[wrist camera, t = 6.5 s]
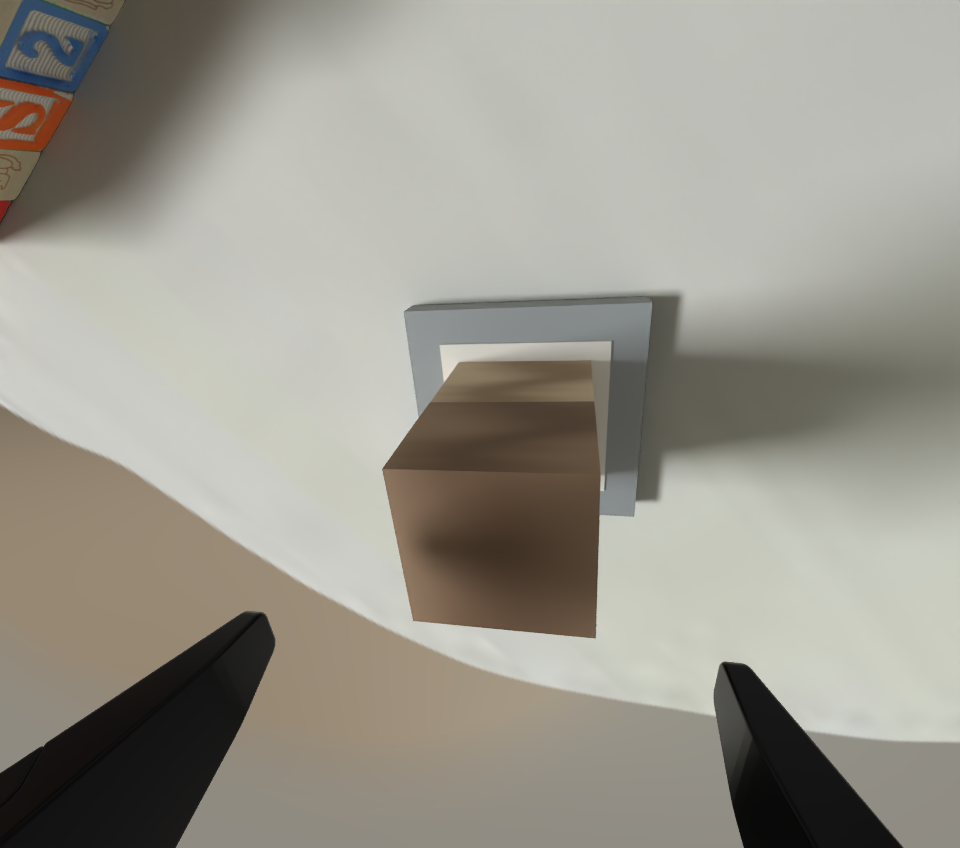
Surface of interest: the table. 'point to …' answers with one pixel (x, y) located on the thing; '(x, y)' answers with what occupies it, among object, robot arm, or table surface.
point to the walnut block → (500, 515)
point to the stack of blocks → (42, 75)
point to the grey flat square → (551, 337)
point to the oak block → (518, 382)
